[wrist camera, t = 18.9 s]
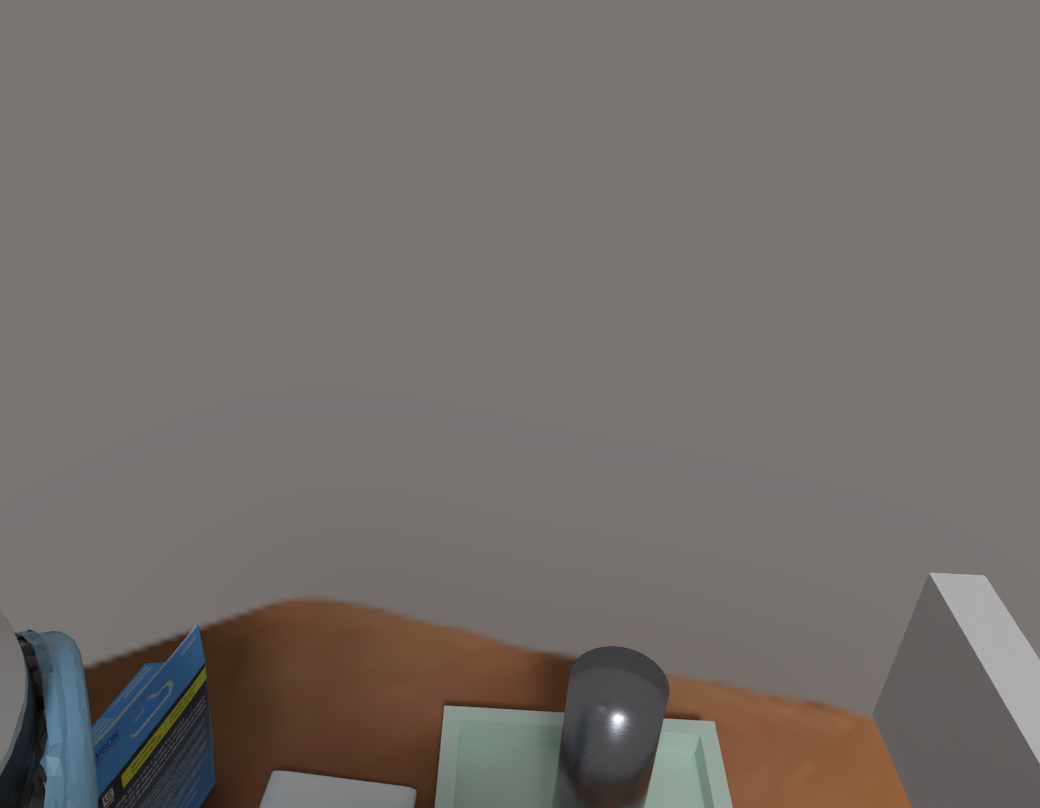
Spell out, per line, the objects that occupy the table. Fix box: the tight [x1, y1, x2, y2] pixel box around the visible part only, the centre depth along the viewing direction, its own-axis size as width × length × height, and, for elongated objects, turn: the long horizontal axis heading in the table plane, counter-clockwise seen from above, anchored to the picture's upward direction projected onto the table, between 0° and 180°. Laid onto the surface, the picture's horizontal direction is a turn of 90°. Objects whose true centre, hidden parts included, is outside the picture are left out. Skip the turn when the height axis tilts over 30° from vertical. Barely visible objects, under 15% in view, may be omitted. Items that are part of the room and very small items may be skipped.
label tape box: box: [92, 625, 216, 808], centre depth 46 cm, size 9×4×12 cm, turn 165°
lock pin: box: [551, 646, 669, 808], centre depth 45 cm, size 4×4×14 cm
